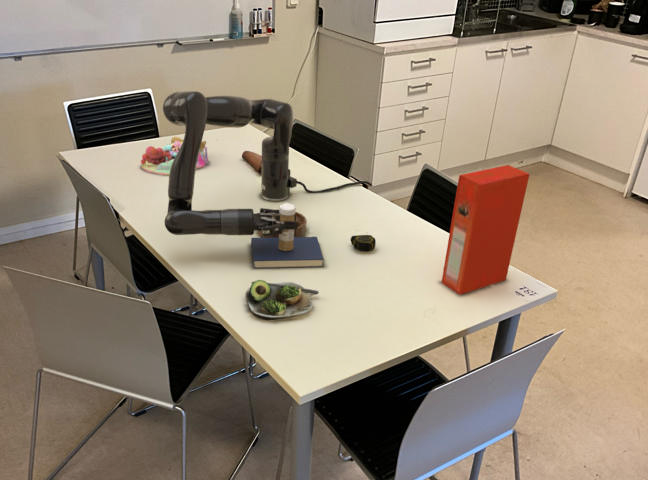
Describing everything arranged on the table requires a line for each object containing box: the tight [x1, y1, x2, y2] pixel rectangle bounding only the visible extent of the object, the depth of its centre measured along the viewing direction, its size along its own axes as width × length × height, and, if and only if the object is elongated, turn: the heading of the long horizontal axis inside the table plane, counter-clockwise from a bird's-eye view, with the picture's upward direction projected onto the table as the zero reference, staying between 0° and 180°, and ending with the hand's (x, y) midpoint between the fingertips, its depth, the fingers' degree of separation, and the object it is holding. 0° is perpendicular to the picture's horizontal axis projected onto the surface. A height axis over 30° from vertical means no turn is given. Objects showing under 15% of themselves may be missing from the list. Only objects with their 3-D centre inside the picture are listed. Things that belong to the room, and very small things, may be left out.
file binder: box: [441, 164, 530, 295], centre depth 180 cm, size 8×17×32 cm, turn 121°
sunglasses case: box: [241, 150, 262, 176], centre depth 256 cm, size 18×7×7 cm
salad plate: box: [245, 279, 320, 321], centre depth 174 cm, size 19×18×5 cm
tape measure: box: [350, 234, 377, 253], centre depth 201 cm, size 7×7×4 cm
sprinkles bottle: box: [278, 203, 297, 251], centre depth 192 cm, size 5×5×14 cm
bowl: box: [256, 211, 308, 238], centre depth 209 cm, size 15×15×4 cm
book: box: [250, 236, 324, 269], centre depth 196 cm, size 14×20×3 cm
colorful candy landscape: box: [140, 136, 209, 176], centre depth 254 cm, size 25×24×9 cm
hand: (296, 221), depth 191 cm, fingers closed on sprinkles bottle, 4 cm apart
